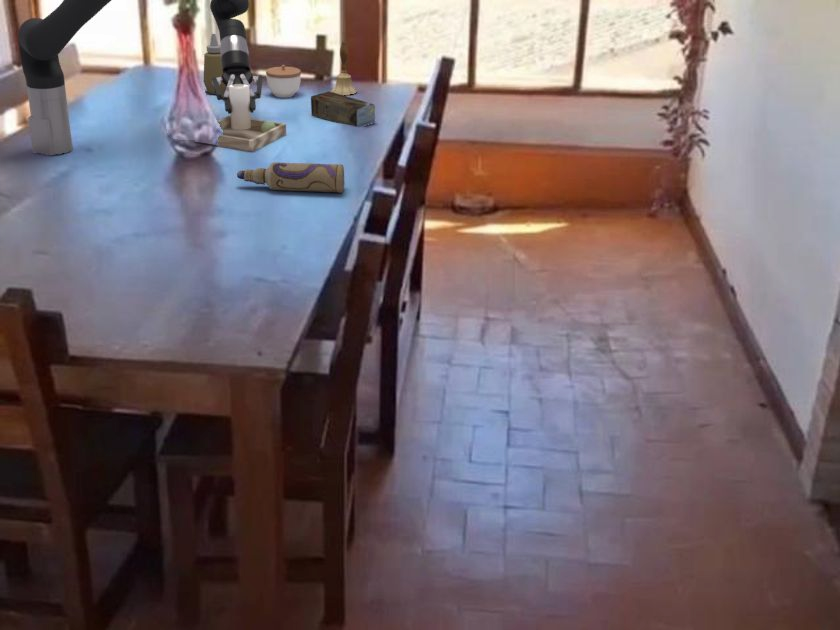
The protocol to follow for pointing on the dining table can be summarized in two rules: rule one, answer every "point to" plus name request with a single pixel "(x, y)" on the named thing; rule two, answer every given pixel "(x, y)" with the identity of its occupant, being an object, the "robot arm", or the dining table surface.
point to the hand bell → (344, 75)
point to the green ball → (267, 126)
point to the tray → (248, 135)
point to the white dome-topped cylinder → (240, 106)
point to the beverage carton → (342, 109)
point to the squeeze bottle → (213, 65)
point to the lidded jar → (283, 81)
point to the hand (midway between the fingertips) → (240, 111)
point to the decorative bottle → (298, 177)
